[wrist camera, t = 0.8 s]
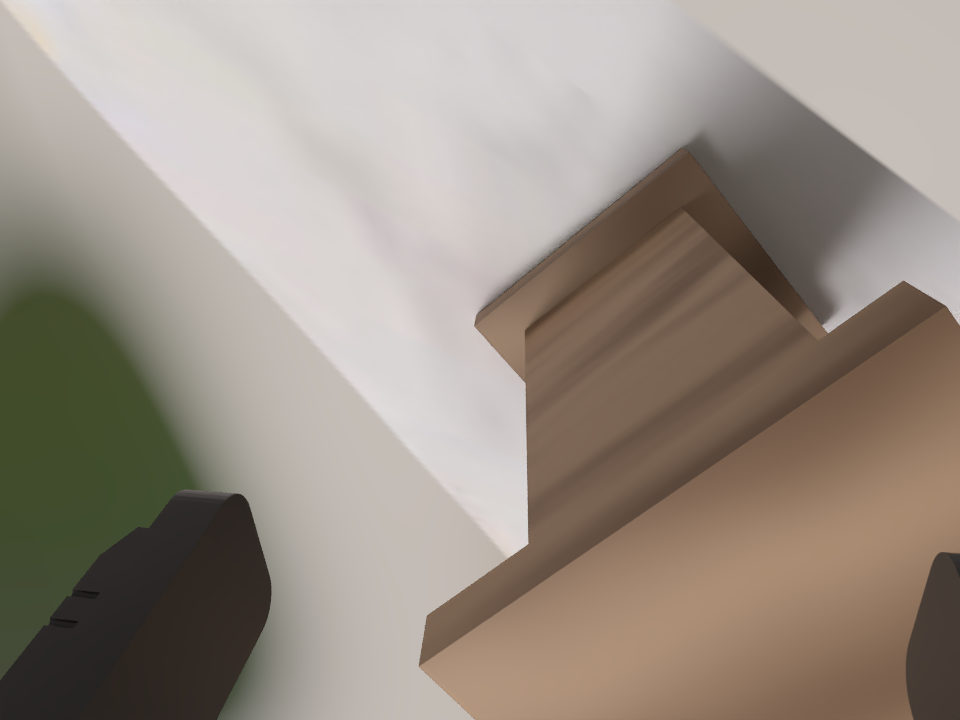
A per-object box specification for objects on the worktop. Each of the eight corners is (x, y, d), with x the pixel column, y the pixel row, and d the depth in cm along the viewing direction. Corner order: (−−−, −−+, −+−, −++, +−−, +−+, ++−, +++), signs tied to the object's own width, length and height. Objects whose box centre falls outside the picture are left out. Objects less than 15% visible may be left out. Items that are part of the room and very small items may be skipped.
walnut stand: (476, 315, 36) (418, 666, 16) (682, 147, 33) (945, 305, 13) (616, 472, 39) (727, 956, 18) (820, 328, 36) (1231, 708, 15)
